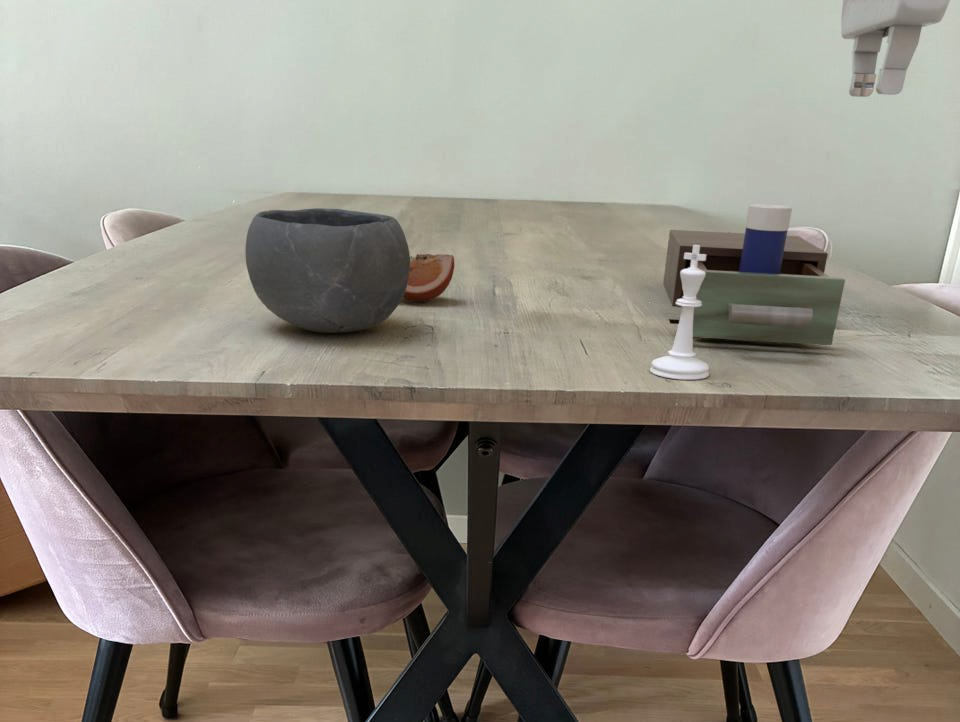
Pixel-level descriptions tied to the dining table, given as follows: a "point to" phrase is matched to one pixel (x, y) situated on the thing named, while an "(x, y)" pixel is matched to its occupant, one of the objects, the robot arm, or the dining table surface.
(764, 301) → the drawer
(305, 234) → the bowl
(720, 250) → the cabinet
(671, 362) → the chess piece
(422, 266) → the fruit slice
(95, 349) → the dining table surface
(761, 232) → the glue stick
